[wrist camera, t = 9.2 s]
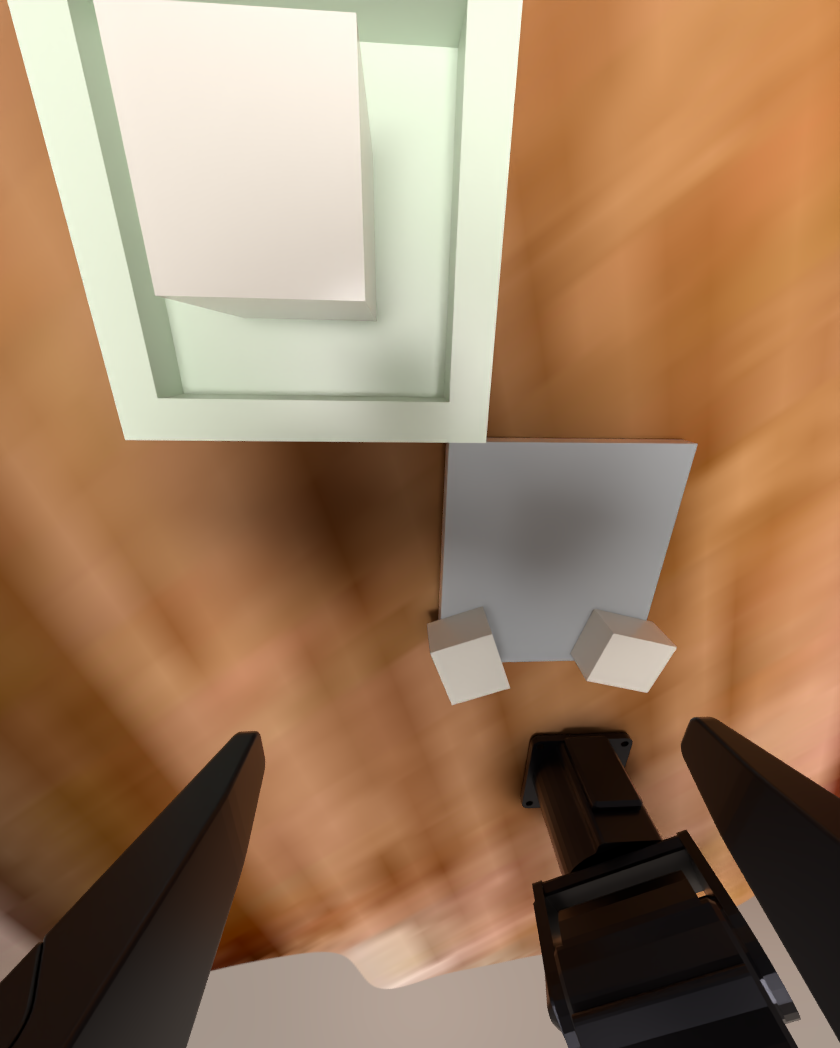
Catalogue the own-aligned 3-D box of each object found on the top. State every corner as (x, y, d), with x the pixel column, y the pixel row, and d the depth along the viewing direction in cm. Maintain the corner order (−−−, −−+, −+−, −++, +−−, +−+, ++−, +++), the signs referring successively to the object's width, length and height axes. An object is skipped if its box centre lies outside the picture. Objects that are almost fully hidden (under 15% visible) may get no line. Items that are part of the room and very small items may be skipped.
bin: (474, 431, 18) (486, 442, 15) (162, 428, 17) (125, 440, 15) (505, -2, 13) (529, -82, 10) (56, -34, 12) (-28, -129, 9)
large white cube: (376, 321, 15) (365, 301, 10) (244, 317, 15) (155, 295, 10) (373, 155, 13) (356, 12, 8) (220, 147, 13) (92, -5, 8)
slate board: (629, 655, 23) (662, 698, 20) (424, 660, 23) (428, 706, 20) (690, 439, 18) (746, 455, 15) (430, 436, 18) (437, 452, 15)
